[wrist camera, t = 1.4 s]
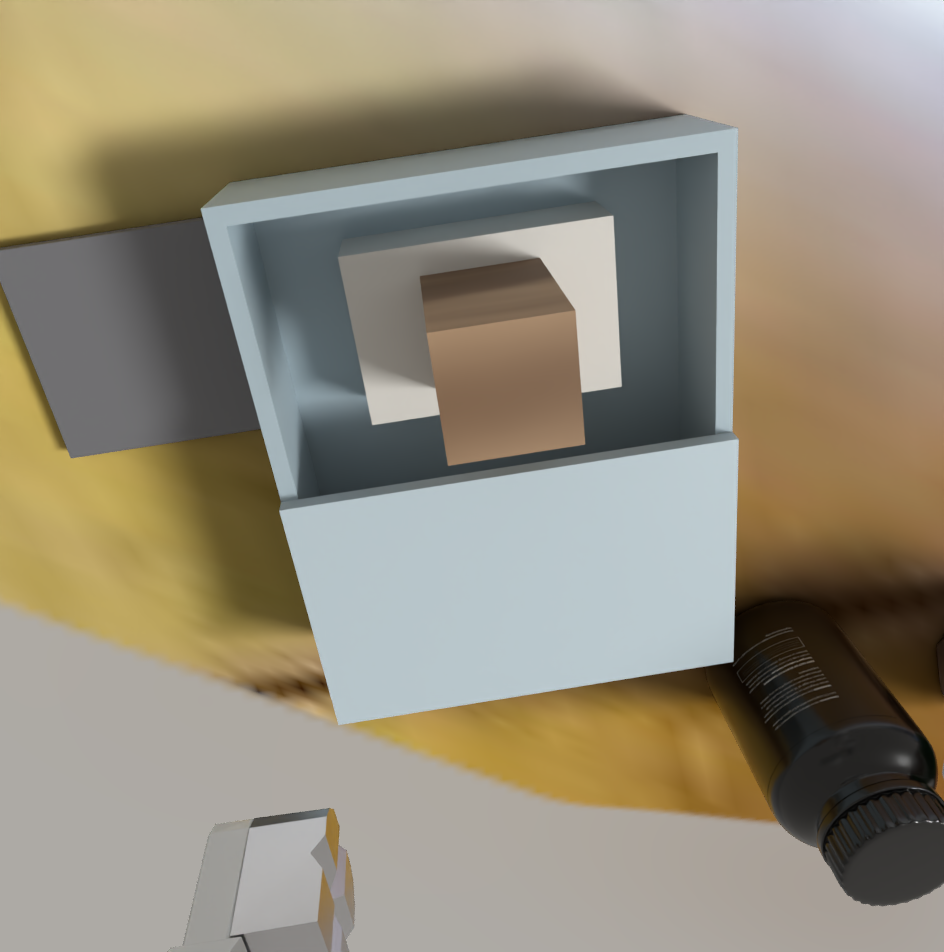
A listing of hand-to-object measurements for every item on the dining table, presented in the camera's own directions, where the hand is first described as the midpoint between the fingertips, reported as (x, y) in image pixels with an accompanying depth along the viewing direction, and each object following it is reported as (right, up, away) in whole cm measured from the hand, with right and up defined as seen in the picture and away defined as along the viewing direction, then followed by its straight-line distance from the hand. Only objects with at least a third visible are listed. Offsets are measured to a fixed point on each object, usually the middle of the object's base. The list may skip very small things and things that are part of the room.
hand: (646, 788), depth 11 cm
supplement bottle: (+12, -4, +30) cm, 33 cm away
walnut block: (-2, +9, +18) cm, 20 cm away
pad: (-14, +9, +20) cm, 26 cm away
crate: (-1, +7, +23) cm, 24 cm away
